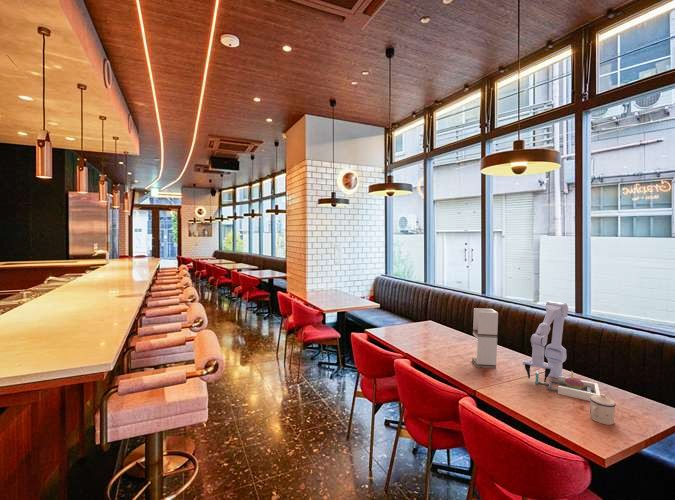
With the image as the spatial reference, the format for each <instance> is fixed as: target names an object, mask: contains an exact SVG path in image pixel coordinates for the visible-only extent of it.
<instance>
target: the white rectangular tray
mask: <svg viewBox="0 0 675 500" xmlns="http://www.w3.org/2000/svg"><path fill="white" fill-rule="evenodd" d="M566 378H569V377H567V376H564V375H563V376H559V378H557V380H558V382H563V383H565V379H566ZM579 380H580V381H582V382H583V383H584V387H586V388H587V386H590V389H591V391H593V392H591V393H590V392H587V390H582V389H581V390H576V389H572V388H568V387H567V386H564V385H558V387H557V389H558V392H557V394H559V395H563V396H566V397H570V398H575V399H580V400H585V401H589V402H591V400H590V398H591V396H594V395H597V396H598V395H600V394H601V392H600V388H599V384H598V383H597V382H591V381H586V380H581V379H579Z"/></svg>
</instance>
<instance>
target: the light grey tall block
mask: <svg viewBox="0 0 675 500" xmlns="http://www.w3.org/2000/svg"><path fill="white" fill-rule="evenodd" d="M472 325H473V327H472V335H473V336H474V337H475V338H476V339H477V342H476V343H477V345H476V348H477V349H476V357H472V358H471V361H472V363H473V364H474V366H475V367H476V368H480V367H482V369H483V368H484V369H485V368H486V369H497V354H498V353H497V352H498V351H497V350H498V331H499V330H498V329H499V328H498V327H499V326H498V325H499V312H498V311H496V310H494V309H493V308H481V307H480V308H479V307H478V308H477V307H475V308H473V323H472Z"/></svg>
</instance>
